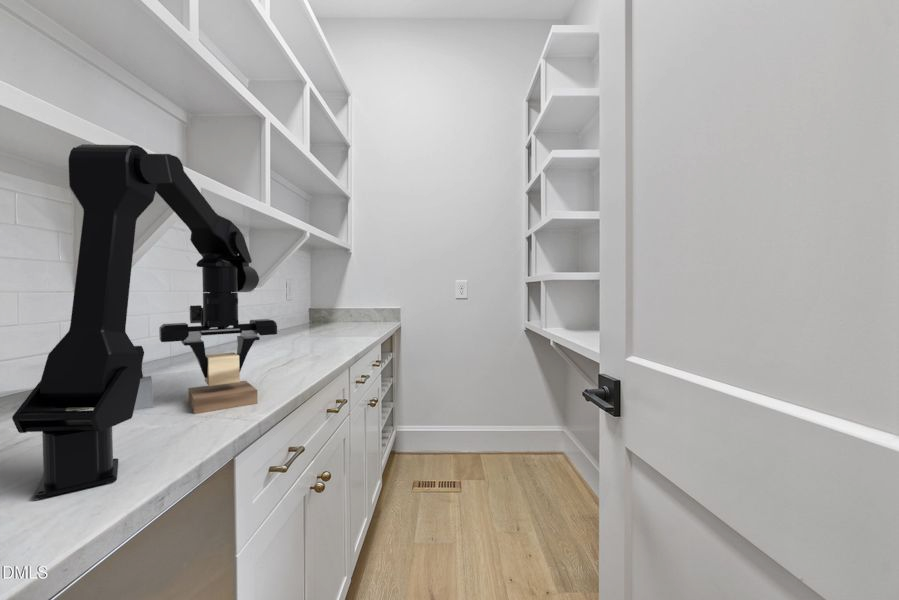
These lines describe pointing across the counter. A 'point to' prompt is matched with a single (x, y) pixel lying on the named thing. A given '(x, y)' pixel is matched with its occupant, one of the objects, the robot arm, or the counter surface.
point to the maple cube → (222, 369)
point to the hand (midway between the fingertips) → (222, 375)
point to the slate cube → (144, 394)
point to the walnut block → (221, 397)
